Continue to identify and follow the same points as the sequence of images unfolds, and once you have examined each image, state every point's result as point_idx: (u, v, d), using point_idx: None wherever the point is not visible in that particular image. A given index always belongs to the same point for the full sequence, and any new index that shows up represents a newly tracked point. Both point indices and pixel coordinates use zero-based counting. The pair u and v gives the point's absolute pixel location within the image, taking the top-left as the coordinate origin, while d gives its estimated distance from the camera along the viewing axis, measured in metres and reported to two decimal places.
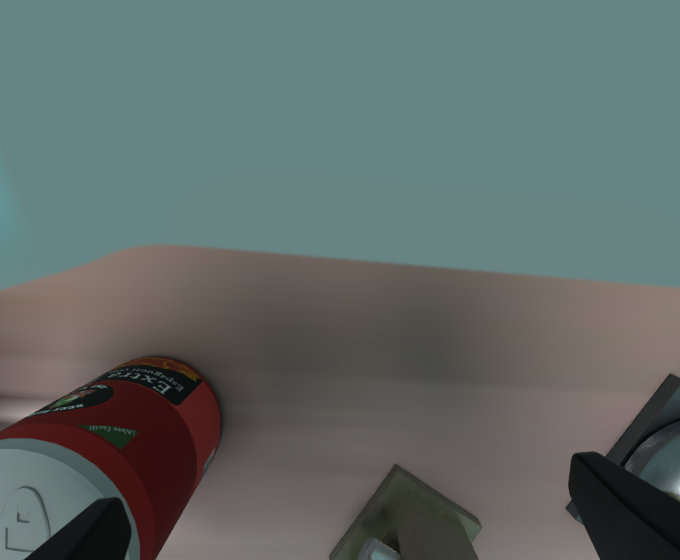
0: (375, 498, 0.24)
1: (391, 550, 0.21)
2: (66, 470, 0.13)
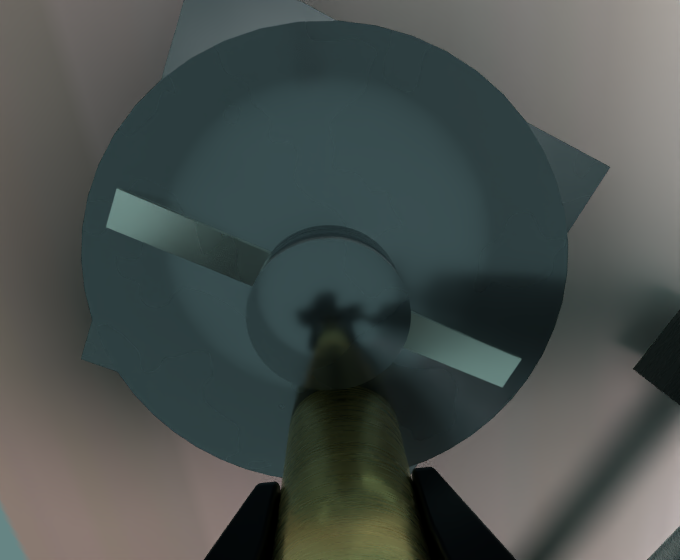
0: None
1: None
2: None
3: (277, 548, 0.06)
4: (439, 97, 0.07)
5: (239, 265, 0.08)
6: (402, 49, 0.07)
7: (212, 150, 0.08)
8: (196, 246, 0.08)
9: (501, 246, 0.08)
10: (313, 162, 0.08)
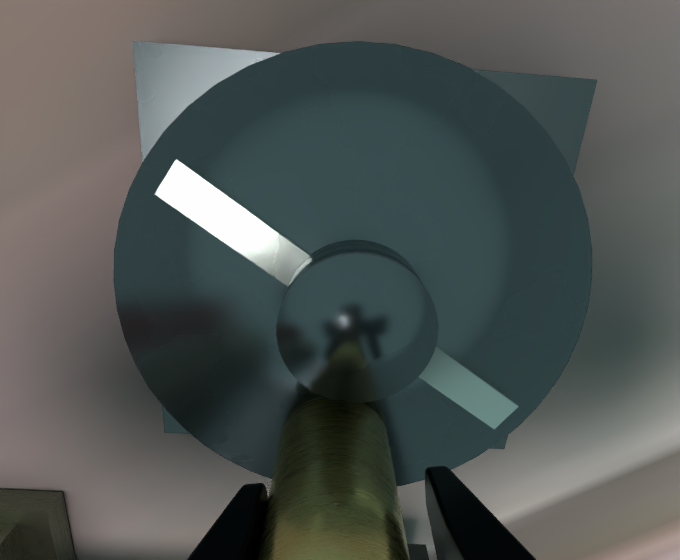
0: None
1: None
2: None
3: (269, 549, 0.06)
4: (506, 147, 0.08)
5: (276, 261, 0.08)
6: (484, 94, 0.07)
7: (280, 144, 0.08)
8: (240, 233, 0.08)
9: (527, 297, 0.09)
10: (374, 179, 0.08)
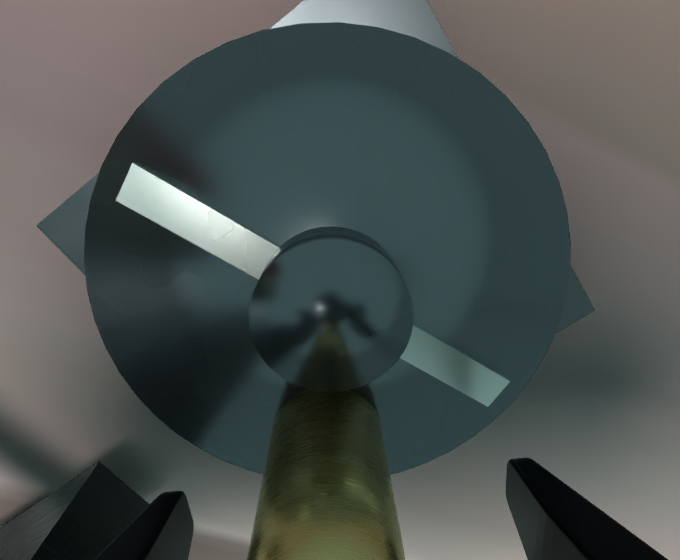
0: None
1: None
2: None
3: (256, 544, 0.06)
4: (466, 116, 0.07)
5: (246, 256, 0.08)
6: (437, 64, 0.07)
7: (235, 137, 0.07)
8: (206, 231, 0.08)
9: (505, 269, 0.08)
10: (334, 163, 0.08)
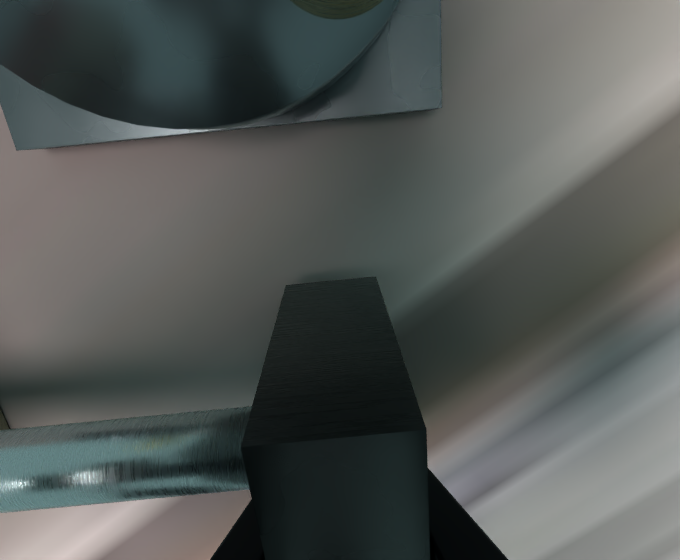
0: None
1: None
2: None
3: None
4: None
5: None
6: None
7: None
8: None
9: None
10: None
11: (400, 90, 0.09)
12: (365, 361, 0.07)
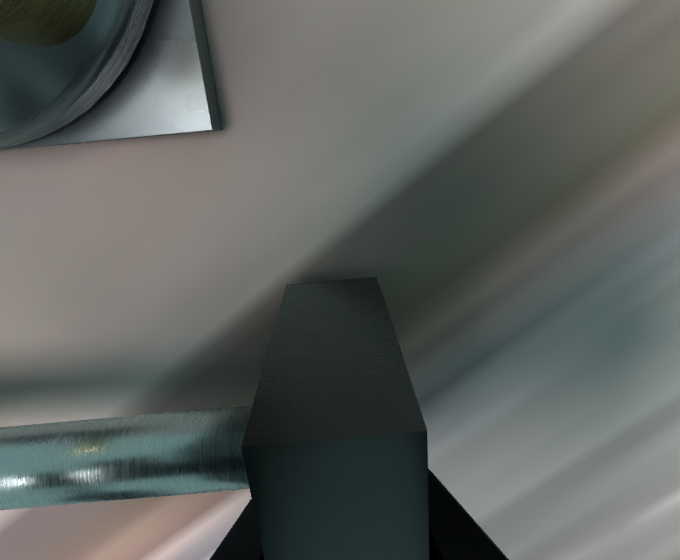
0: None
1: None
2: None
3: None
4: None
5: None
6: None
7: None
8: None
9: None
10: None
11: (167, 112, 0.09)
12: (365, 361, 0.07)
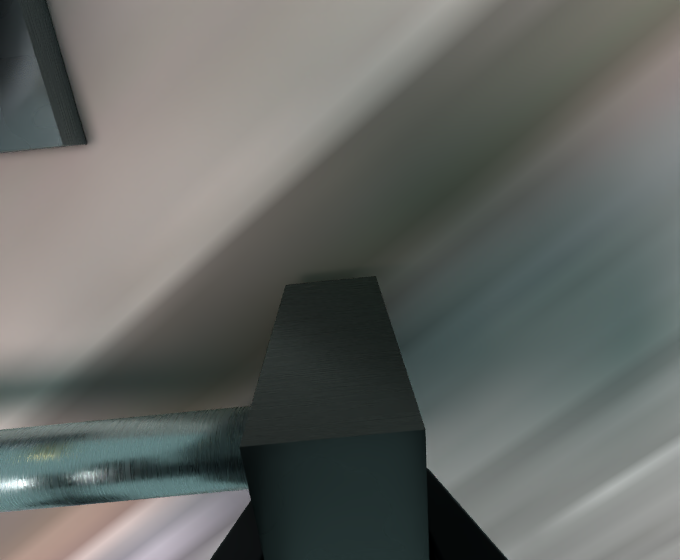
0: None
1: None
2: None
3: None
4: None
5: None
6: None
7: None
8: None
9: None
10: None
11: (16, 128, 0.09)
12: (364, 360, 0.07)
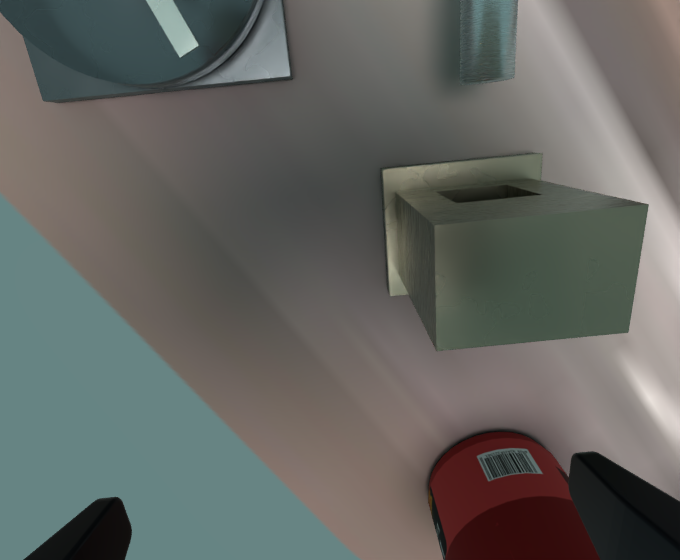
0: None
1: (460, 52, 0.14)
2: None
3: None
4: None
5: None
6: (10, 13, 0.14)
7: (125, 39, 0.14)
8: (161, 0, 0.14)
9: None
10: None
11: None
12: None
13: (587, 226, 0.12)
